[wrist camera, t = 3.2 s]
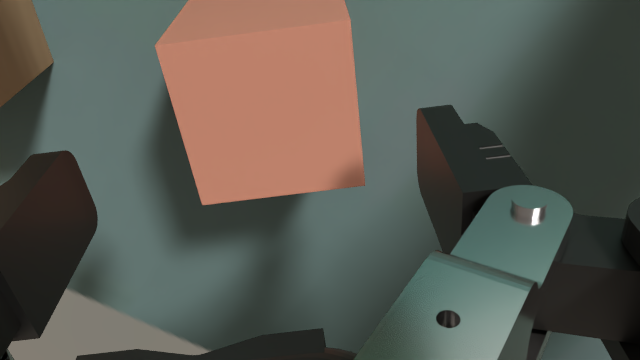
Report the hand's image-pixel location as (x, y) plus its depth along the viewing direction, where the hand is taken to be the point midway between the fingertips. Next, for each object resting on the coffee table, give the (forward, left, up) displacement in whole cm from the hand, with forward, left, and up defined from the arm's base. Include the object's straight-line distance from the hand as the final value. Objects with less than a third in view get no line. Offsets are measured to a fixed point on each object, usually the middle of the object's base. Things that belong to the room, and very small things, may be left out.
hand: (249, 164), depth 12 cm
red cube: (0, 0, -9) cm, 9 cm away
